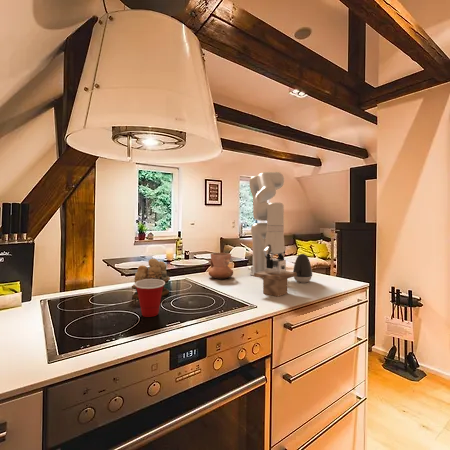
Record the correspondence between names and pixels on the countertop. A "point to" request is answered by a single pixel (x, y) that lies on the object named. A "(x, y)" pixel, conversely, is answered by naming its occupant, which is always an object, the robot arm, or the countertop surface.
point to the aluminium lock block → (277, 267)
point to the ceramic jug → (220, 266)
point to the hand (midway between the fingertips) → (275, 266)
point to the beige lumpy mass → (152, 275)
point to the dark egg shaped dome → (302, 269)
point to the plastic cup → (149, 296)
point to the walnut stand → (275, 282)
